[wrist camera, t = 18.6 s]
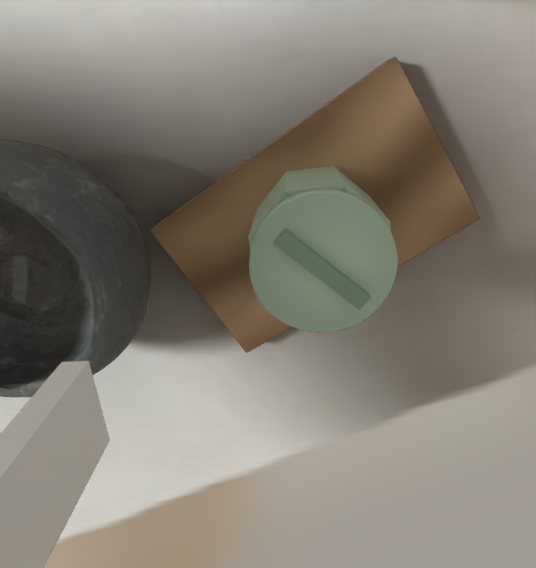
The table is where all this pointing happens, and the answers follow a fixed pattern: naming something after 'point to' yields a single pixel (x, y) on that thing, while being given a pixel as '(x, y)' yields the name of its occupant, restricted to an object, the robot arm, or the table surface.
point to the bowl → (63, 268)
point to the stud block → (312, 154)
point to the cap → (321, 251)
